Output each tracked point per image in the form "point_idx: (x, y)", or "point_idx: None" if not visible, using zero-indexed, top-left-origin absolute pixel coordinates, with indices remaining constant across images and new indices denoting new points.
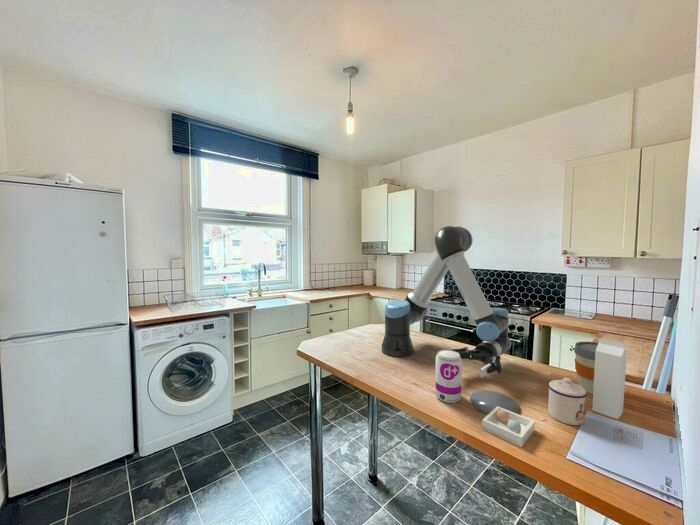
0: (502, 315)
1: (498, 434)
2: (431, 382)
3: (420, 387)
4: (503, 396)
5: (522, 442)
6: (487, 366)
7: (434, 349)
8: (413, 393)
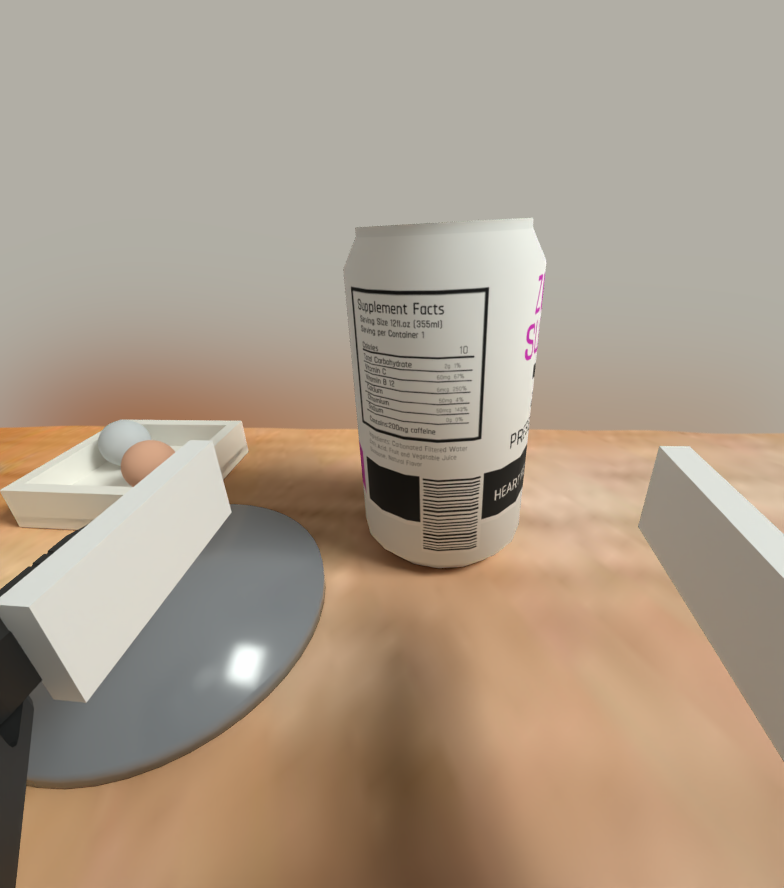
0: None
1: None
2: (660, 603)
3: (626, 518)
4: (45, 716)
5: None
6: (100, 514)
7: None
8: (585, 470)
